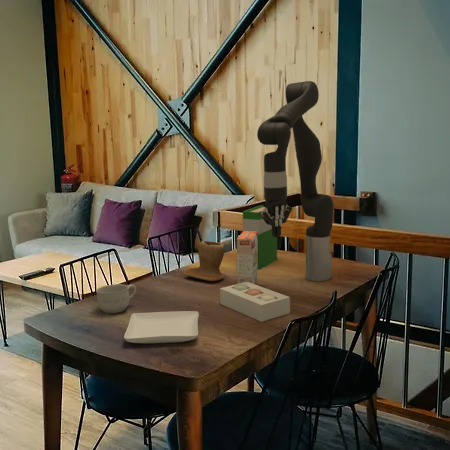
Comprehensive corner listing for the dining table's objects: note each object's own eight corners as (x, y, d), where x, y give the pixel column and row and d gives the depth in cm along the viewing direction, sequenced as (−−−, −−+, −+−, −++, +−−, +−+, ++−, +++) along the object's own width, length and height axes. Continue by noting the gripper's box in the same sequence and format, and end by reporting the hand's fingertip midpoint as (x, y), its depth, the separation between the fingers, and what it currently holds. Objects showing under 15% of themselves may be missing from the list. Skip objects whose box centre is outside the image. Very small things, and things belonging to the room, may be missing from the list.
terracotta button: (254, 295, 194) (254, 288, 194) (263, 298, 191) (263, 291, 190) (244, 298, 192) (244, 290, 191) (253, 301, 188) (252, 293, 188)
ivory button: (268, 300, 189) (268, 293, 188) (277, 304, 185) (277, 296, 185) (258, 303, 186) (258, 295, 186) (266, 307, 183) (266, 299, 182)
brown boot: (231, 277, 227) (230, 240, 224) (212, 285, 218) (211, 246, 215) (202, 271, 237) (201, 236, 234) (182, 278, 228) (181, 241, 225)
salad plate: (132, 322, 183) (131, 311, 182) (198, 319, 184) (198, 309, 183) (123, 349, 162) (122, 337, 161) (198, 346, 163) (198, 335, 162)
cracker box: (253, 296, 204) (252, 238, 200) (236, 295, 206) (235, 238, 202) (258, 284, 218) (258, 230, 214) (243, 283, 219) (242, 230, 215)
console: (247, 296, 204) (247, 281, 203) (289, 313, 187) (289, 297, 186) (220, 303, 197) (219, 288, 196) (261, 321, 180) (261, 305, 179)
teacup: (102, 318, 185) (101, 294, 184) (93, 308, 195) (92, 286, 193) (143, 310, 192) (142, 287, 190) (133, 301, 201) (131, 279, 200)
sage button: (242, 290, 200) (242, 283, 199) (250, 293, 196) (249, 286, 196) (232, 293, 197) (231, 285, 197) (239, 296, 194) (239, 288, 193)
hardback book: (261, 258, 257) (261, 205, 252) (277, 259, 253) (276, 206, 248) (243, 267, 242) (242, 211, 237) (259, 269, 238) (258, 212, 233)
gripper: (282, 181, 193) (283, 231, 197) (252, 186, 186) (253, 238, 189) (298, 183, 187) (299, 235, 191) (267, 188, 180) (268, 242, 183)
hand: (276, 236), depth 190 cm, fingers closed
